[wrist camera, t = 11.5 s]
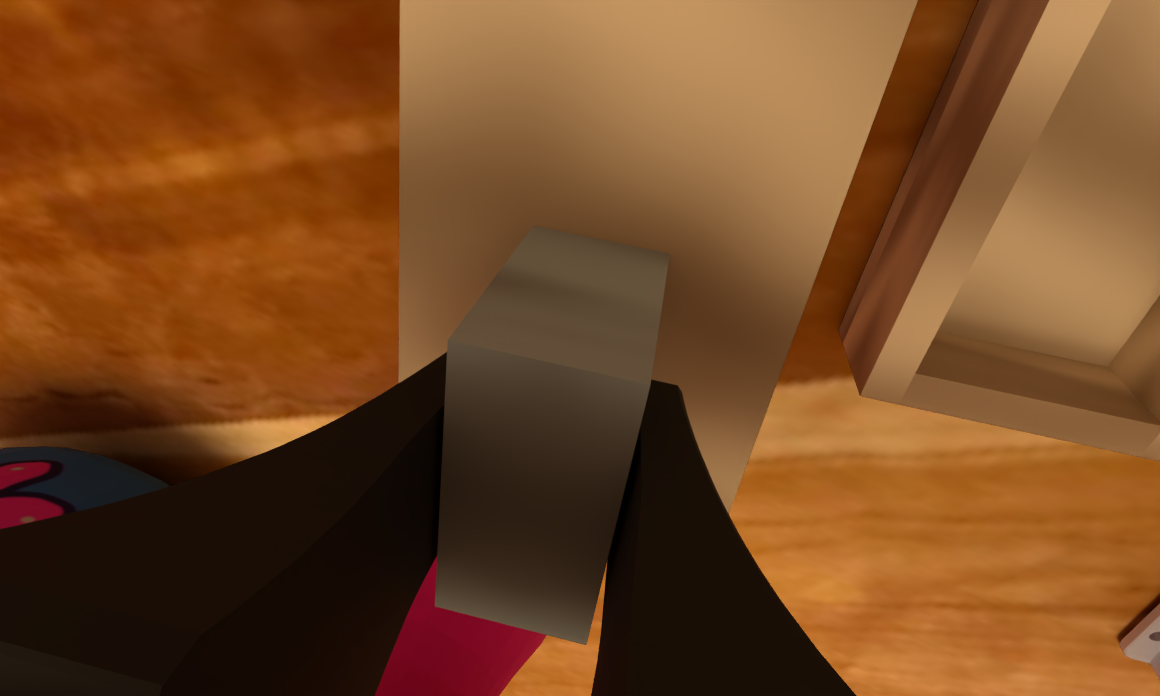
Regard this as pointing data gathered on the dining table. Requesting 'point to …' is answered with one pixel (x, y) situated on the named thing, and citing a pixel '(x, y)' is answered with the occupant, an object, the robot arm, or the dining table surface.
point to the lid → (610, 251)
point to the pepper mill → (453, 651)
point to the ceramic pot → (63, 483)
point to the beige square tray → (1028, 233)
